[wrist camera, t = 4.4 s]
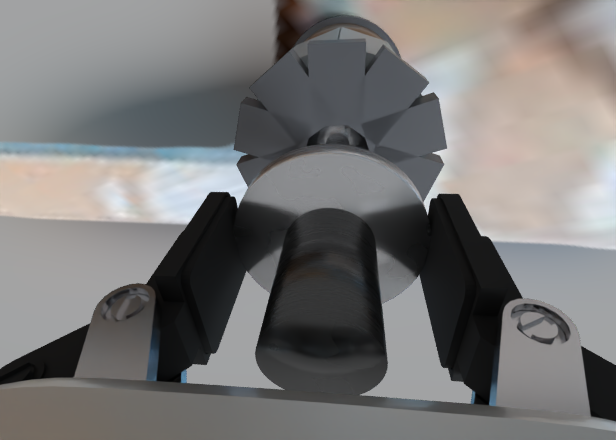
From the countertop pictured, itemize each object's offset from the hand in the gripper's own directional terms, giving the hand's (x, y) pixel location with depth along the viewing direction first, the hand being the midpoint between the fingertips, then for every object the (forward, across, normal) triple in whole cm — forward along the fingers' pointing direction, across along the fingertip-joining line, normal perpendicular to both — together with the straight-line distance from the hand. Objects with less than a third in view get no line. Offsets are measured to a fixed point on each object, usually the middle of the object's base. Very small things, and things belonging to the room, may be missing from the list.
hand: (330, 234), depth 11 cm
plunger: (+8, 0, 0) cm, 8 cm away
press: (+21, 0, 0) cm, 21 cm away
